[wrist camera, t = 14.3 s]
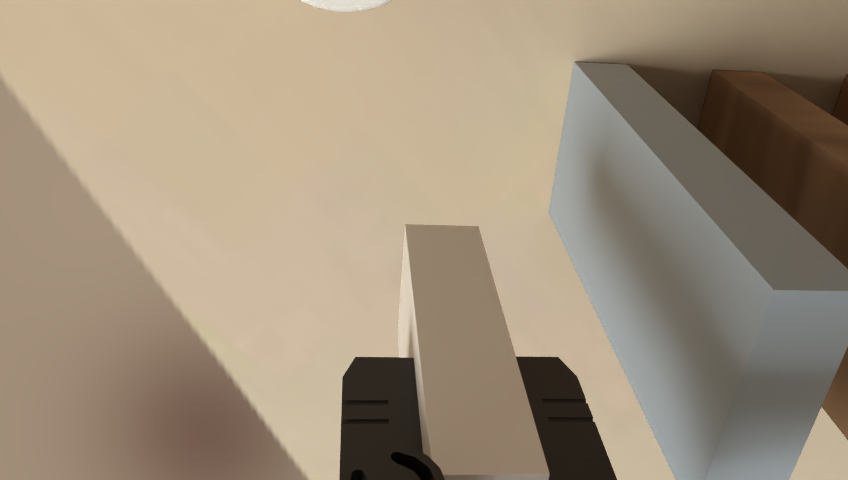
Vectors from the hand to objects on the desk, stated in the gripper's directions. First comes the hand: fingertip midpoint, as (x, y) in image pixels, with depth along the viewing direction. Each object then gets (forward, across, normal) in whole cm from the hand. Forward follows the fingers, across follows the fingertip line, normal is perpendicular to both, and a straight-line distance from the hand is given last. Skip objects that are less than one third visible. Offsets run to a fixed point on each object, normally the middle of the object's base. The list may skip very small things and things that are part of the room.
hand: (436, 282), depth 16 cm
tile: (+8, +5, 0) cm, 10 cm away
